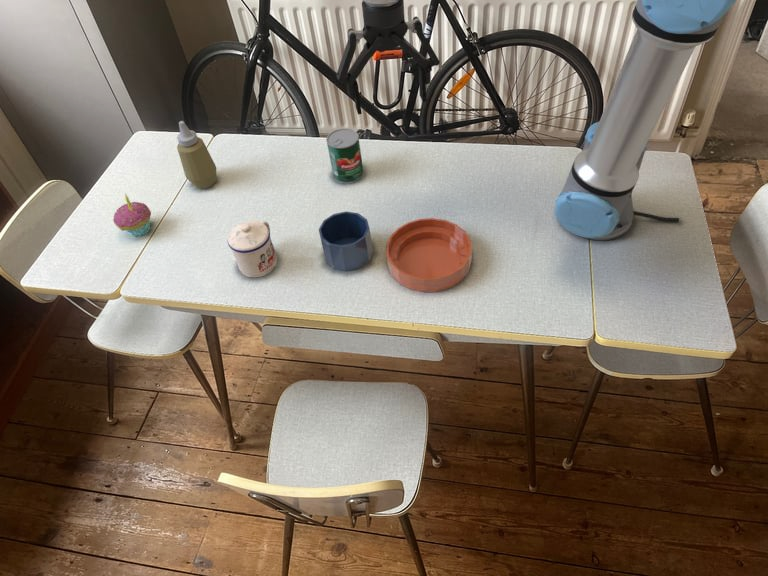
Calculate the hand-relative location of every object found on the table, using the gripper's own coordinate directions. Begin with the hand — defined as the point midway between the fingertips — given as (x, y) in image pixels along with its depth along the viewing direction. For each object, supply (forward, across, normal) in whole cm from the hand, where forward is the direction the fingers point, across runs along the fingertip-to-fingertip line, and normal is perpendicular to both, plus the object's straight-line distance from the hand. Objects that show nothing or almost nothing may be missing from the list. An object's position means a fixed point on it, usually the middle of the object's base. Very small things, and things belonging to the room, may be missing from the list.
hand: (391, 104), depth 119 cm
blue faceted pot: (+27, +15, +13) cm, 33 cm away
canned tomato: (+27, +10, -15) cm, 32 cm away
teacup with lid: (+27, +34, +9) cm, 44 cm away
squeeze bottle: (+27, +46, -23) cm, 59 cm away
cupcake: (+27, +63, -10) cm, 69 cm away
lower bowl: (+27, -2, +21) cm, 34 cm away
